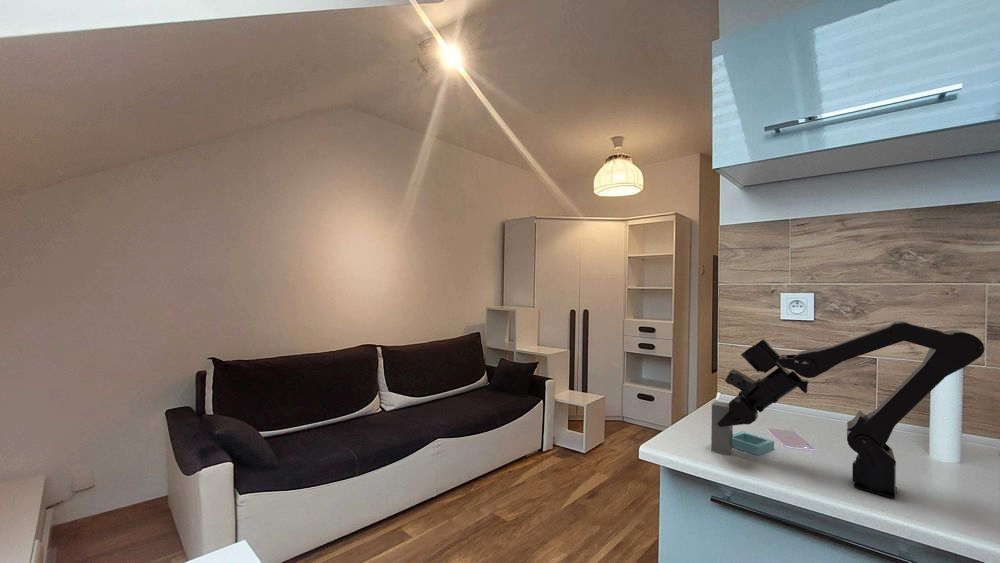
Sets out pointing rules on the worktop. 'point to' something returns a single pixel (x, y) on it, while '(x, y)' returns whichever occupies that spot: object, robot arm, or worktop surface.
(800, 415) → the worktop surface
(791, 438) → the mobile phone
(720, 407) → the grey rectangular block
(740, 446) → the socket block
